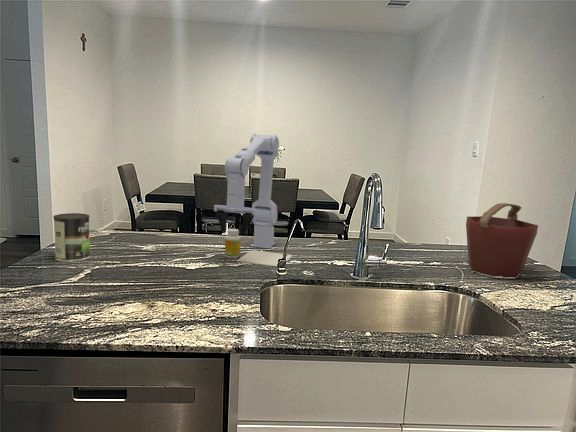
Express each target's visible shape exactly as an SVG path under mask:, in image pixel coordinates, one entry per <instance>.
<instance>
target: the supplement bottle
mask: <svg viewBox="0 0 576 432" xmlns="http://www.w3.org/2000/svg"><path fill="white" fill-rule="evenodd" d="M226 233H227V235H226V236H225V238H224V239H225V240H224V247H225V248H224V256H225V257H226V258H230V259H236V258H239V257H240V255H241V236H240V235H239V234H240V230H239V229H237V228H228V229H227V231H226Z"/></svg>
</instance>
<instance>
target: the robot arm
mask: <svg viewBox="0 0 576 432" xmlns="http://www.w3.org/2000/svg"><path fill="white" fill-rule="evenodd" d="M279 148H280V139H279V137H278V136H277V134H276V135H275V134H274V135H273V134H271V135H270V134H269V135H268V134H256V133H254V134H252V135H251V136H250V139H249V144H248V146H247V147H244V146H243V147H242V148H241V149H240V150H239V151H238V152H237V153H236V155H235V156H233V157H229V158H227V159H226V161H225V162H224V163H225V165H224V173H225V178H226V180H227V187H226V188H227V190H226V191H227V192H226V193H227V194H226V205H225V204H224V205H222V204H214V205H213V212H215V217H216V218H217V220H218V222H219V227H220V230H221V233H222V234H225V233H227V222H228V221H227V220H228V213H232V214H234V213H235V214H242V222H243V223H242V225H243V227H242V228H243V229H242V236H243V237H246V236H247V235H248V231H249V227H250V225H251V224H253V225H254V228H253V229H254V230H253V243H251V244H250V245H249V246H250V247H253V248H261V249H271V247H273V246H274V245H275V244H276V241H274V237H275V227H274V226H273V225H275V224H276V222H277V221H278V215H279V214H278V205H277V204H276V203H275V201H273V200H272V187H273V175H274V163H275V162H274V161H275V159H276V158H278V157H279ZM256 156H257V157H259V158H260V160H261V163H260V175H259V176H260V177H259V187H258V188H259V189H258V199H257V200H256V201H254V202H253V203H252V204H251V205H252V206H251V207H248V206H245V190H246V189H245V188H246V176H247V175H248V173H249V169H250V167H251V166H250V165H252V164H253V162H255V160H256Z"/></svg>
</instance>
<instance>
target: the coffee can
mask: <svg viewBox="0 0 576 432" xmlns="http://www.w3.org/2000/svg"><path fill="white" fill-rule="evenodd" d="M52 218H53V223H54V225H53V229H54V232H53V233H54V251H55V252H54V253H55V254H54V255H55V258H54V260H55V261H57V262H63V263H75V262H81V261H86V260H89V259H90V258H91V252H90V250H91V249H90V214H86V213H78V212H75V213H74V212H73V213H71V212H70V213H68V212H67V213H60V214H55V215H53V217H52Z"/></svg>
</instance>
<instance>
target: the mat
mask: <svg viewBox="0 0 576 432" xmlns="http://www.w3.org/2000/svg"><path fill="white" fill-rule="evenodd" d="M283 254H284V253H278V252H273V251H272V252H271V251H270V252H269V251H263V250H255V249H254V250H253V249H252V250H250V251H248V252H247V253H246V254H244V255H242V256H241V257H240V258H239V259H237V260H236V263H242V264H243V263H244V264H250V265H258V266H265V267H272V266H275V268H277V267H276V266H277V263H278V260H279V259H282V258H283ZM286 254H287V253H286ZM293 257H294V255H293V254H289V253H288V254H287V256H286V261H287V262H288V261H289V260H290V259H292V258H293Z"/></svg>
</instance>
